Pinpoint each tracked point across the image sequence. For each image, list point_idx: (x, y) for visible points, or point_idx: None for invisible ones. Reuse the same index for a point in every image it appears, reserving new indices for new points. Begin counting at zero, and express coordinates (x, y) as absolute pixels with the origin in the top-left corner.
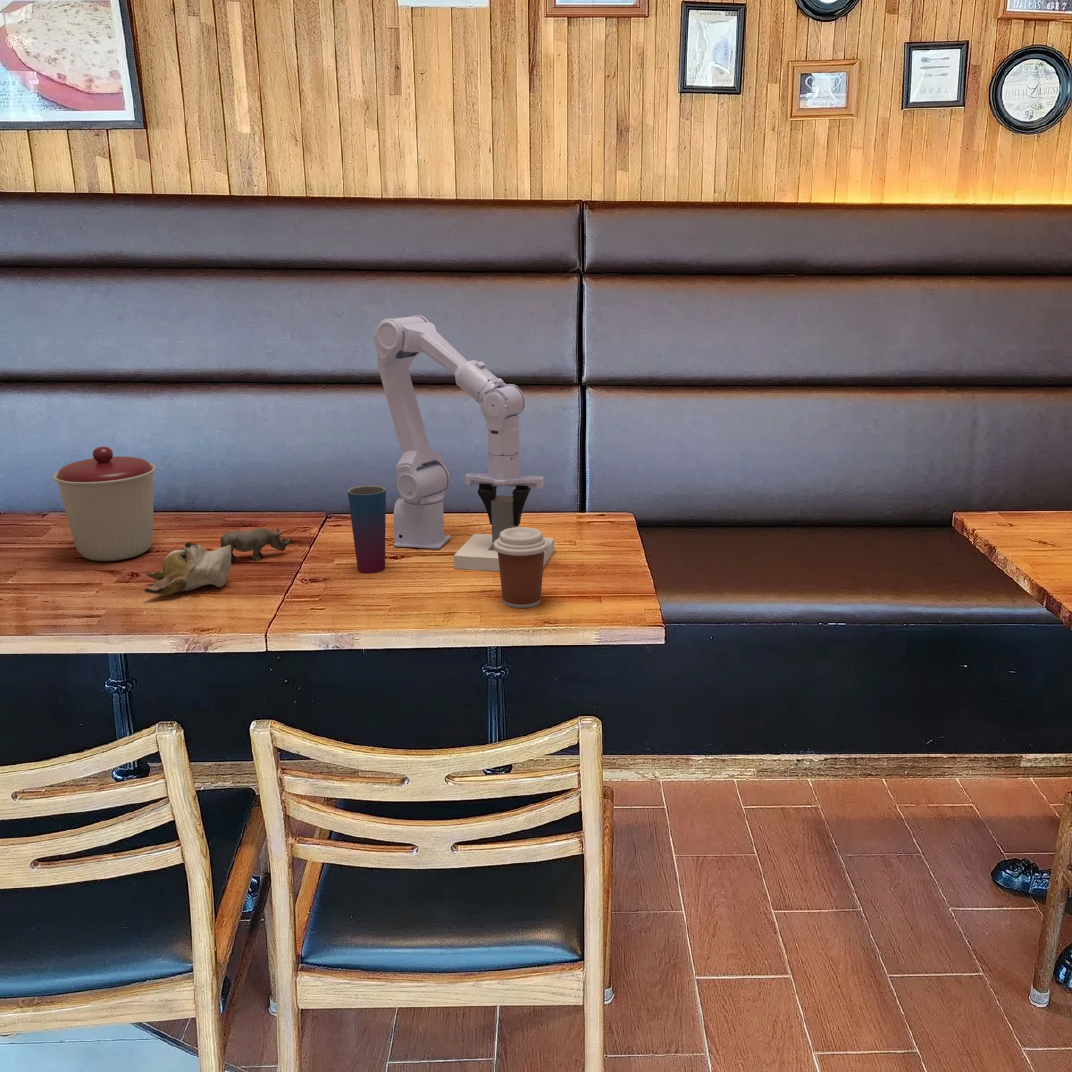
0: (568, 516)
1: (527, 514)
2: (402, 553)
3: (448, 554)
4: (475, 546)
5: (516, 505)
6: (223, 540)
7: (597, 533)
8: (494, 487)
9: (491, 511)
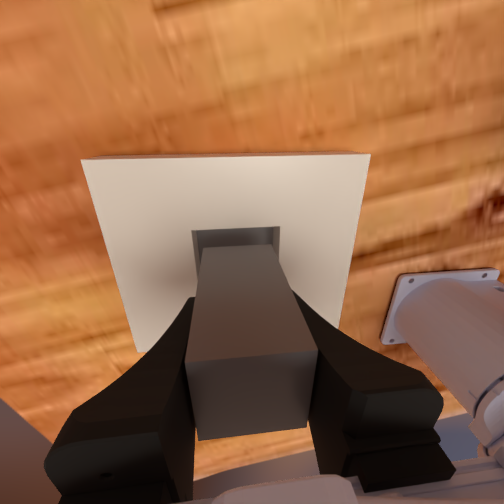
0: (196, 469)
1: (265, 459)
2: (478, 234)
3: (375, 252)
4: (319, 249)
5: (168, 354)
6: None
7: None
8: (332, 472)
9: (299, 308)
